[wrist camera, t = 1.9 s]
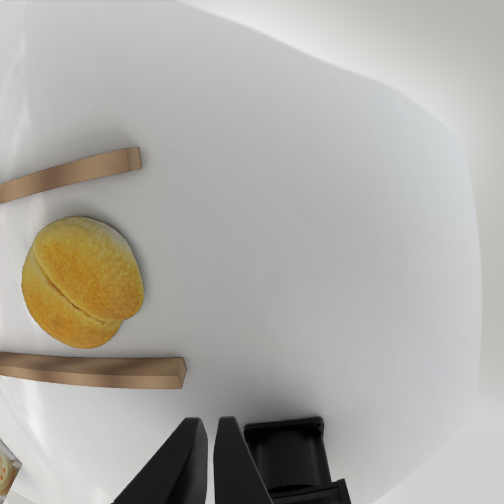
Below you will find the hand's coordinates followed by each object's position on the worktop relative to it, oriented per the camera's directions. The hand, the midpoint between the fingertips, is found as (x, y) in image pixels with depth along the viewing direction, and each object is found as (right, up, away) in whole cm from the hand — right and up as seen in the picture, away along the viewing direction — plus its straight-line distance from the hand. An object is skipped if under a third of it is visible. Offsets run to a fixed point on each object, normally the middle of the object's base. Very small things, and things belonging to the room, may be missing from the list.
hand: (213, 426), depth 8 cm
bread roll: (-10, +3, +12) cm, 16 cm away
